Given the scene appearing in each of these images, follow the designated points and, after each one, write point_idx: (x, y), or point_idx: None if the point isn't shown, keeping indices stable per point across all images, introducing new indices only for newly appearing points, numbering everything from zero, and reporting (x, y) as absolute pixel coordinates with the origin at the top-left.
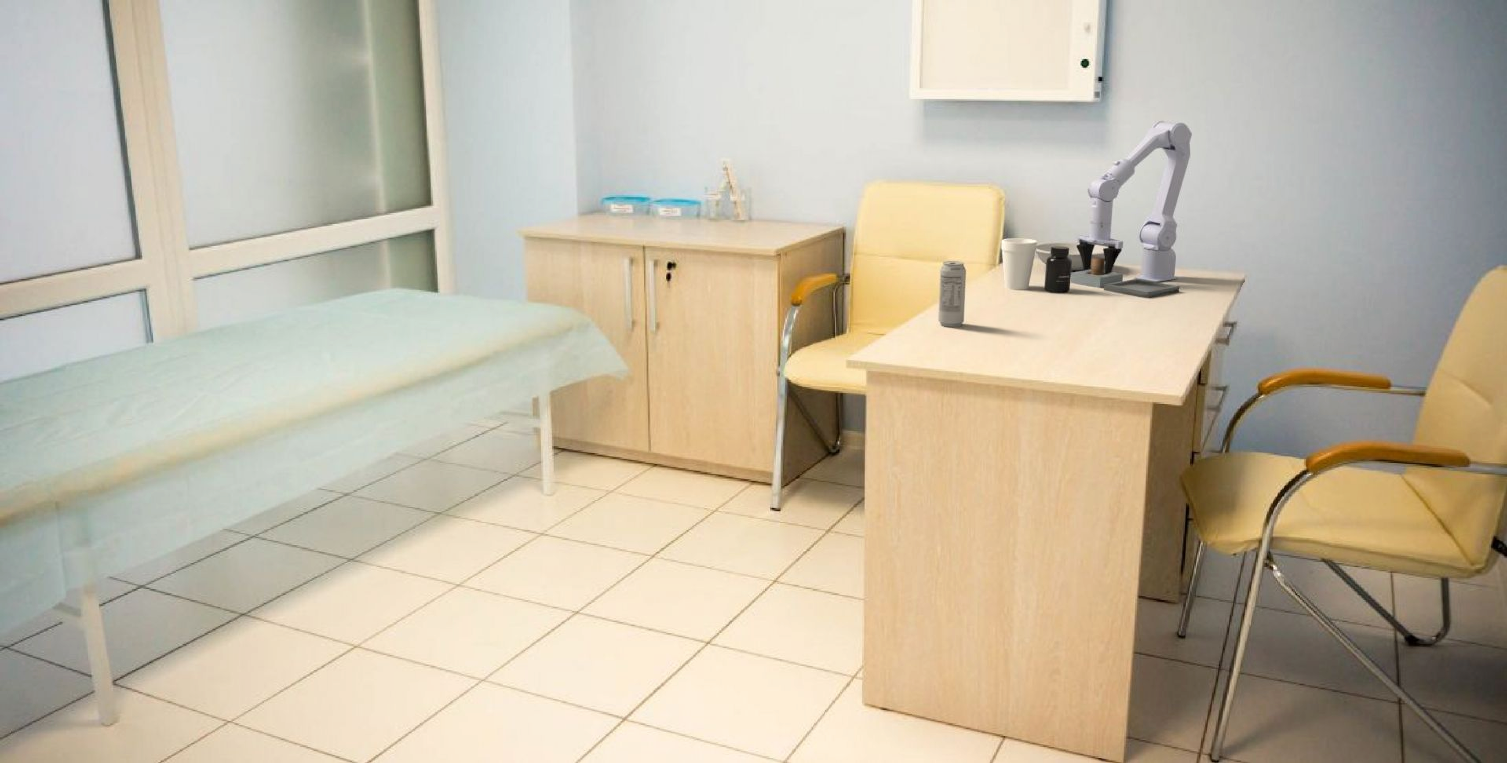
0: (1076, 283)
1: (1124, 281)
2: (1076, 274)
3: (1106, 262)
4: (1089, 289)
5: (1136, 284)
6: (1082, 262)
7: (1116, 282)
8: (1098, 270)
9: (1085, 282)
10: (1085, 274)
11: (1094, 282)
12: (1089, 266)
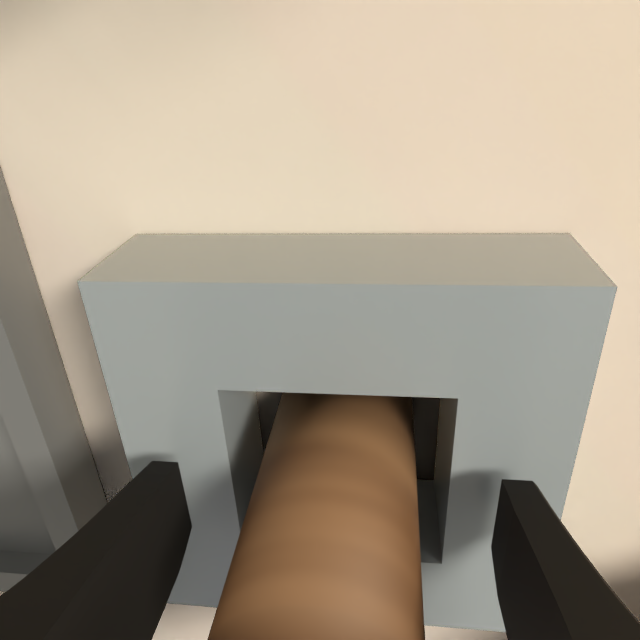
0: (474, 233)
1: (32, 461)
2: (505, 279)
3: (63, 569)
4: (105, 44)
5: (7, 500)
6: (577, 552)
7: (12, 371)
8: (264, 474)
9: (333, 244)
10: (372, 326)
11: (191, 250)
12: (498, 570)
